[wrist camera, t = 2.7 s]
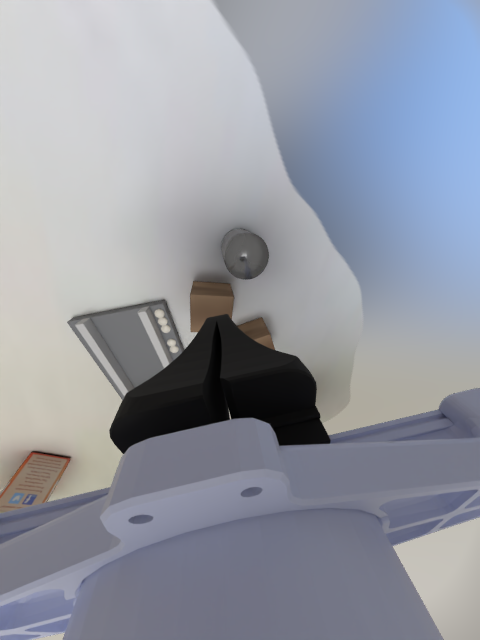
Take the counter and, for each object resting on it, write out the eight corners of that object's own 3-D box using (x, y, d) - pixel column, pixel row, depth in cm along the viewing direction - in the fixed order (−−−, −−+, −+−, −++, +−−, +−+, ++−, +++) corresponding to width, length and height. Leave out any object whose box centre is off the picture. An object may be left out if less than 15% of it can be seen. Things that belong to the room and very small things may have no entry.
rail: (200, 394, 29) (200, 406, 27) (135, 408, 29) (130, 422, 27) (164, 299, 21) (160, 308, 19) (73, 317, 21) (59, 328, 19)
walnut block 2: (268, 340, 26) (278, 360, 23) (241, 350, 26) (246, 371, 23) (261, 316, 24) (270, 334, 21) (231, 327, 24) (235, 346, 21)
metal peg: (257, 262, 21) (270, 275, 16) (224, 268, 20) (228, 283, 16) (253, 225, 19) (267, 229, 14) (217, 231, 19) (220, 237, 14)
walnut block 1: (227, 315, 23) (230, 332, 20) (193, 313, 23) (190, 331, 19) (229, 283, 21) (233, 296, 18) (193, 281, 21) (190, 294, 17)
